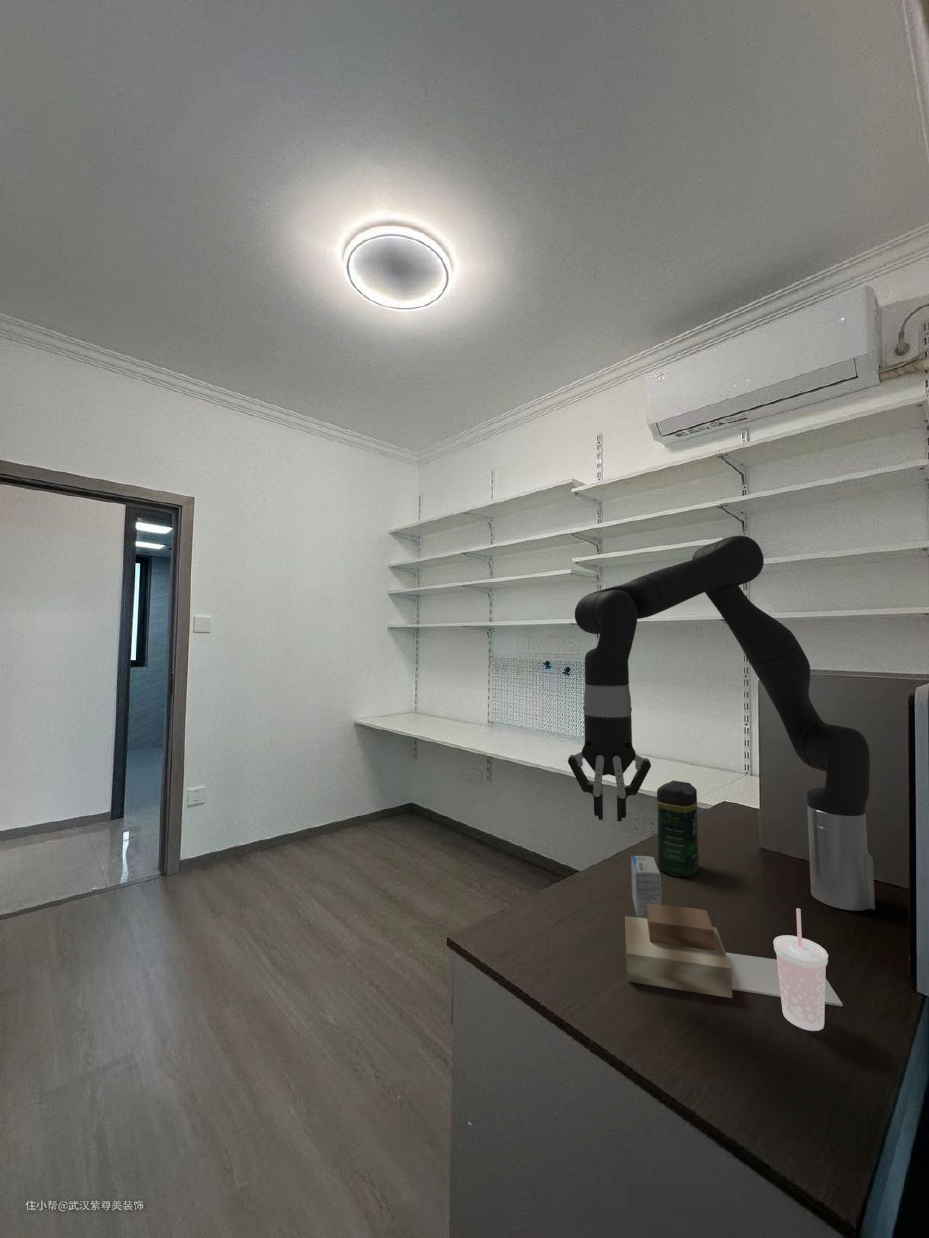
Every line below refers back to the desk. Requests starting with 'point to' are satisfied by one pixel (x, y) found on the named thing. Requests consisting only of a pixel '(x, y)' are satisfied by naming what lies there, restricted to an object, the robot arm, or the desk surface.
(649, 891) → the medicine box
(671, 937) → the walnut tile
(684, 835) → the coffee jar
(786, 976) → the beverage cup
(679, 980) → the tan flat block
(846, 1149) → the desk surface
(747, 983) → the mat
